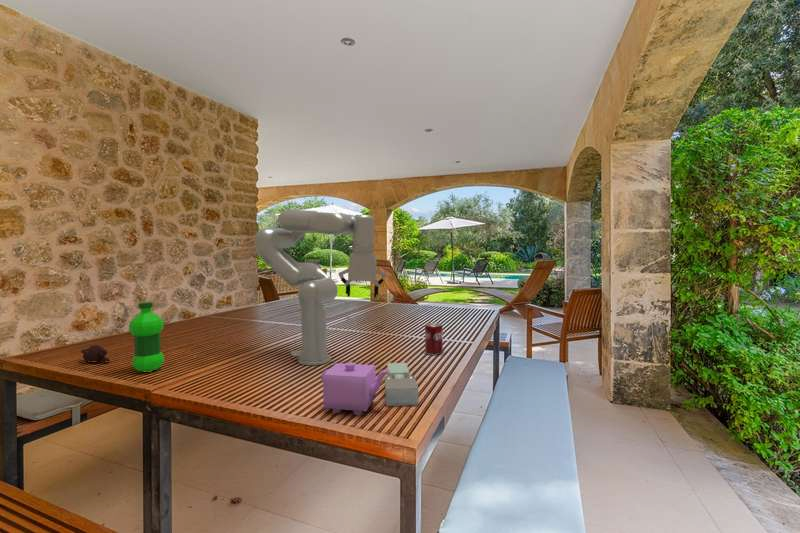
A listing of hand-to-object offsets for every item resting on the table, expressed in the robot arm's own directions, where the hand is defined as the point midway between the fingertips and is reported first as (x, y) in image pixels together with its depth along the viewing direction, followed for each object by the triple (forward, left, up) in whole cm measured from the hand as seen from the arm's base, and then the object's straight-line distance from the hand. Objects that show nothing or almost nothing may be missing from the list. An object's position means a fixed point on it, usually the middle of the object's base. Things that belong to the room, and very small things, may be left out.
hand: (362, 296), depth 141 cm
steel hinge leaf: (+12, -29, -26) cm, 41 cm away
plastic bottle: (-78, +4, -27) cm, 83 cm away
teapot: (-1, -35, -27) cm, 44 cm away
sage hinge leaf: (+12, -19, -26) cm, 34 cm away
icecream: (-106, +17, -27) cm, 111 cm away
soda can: (+29, +16, -27) cm, 43 cm away
